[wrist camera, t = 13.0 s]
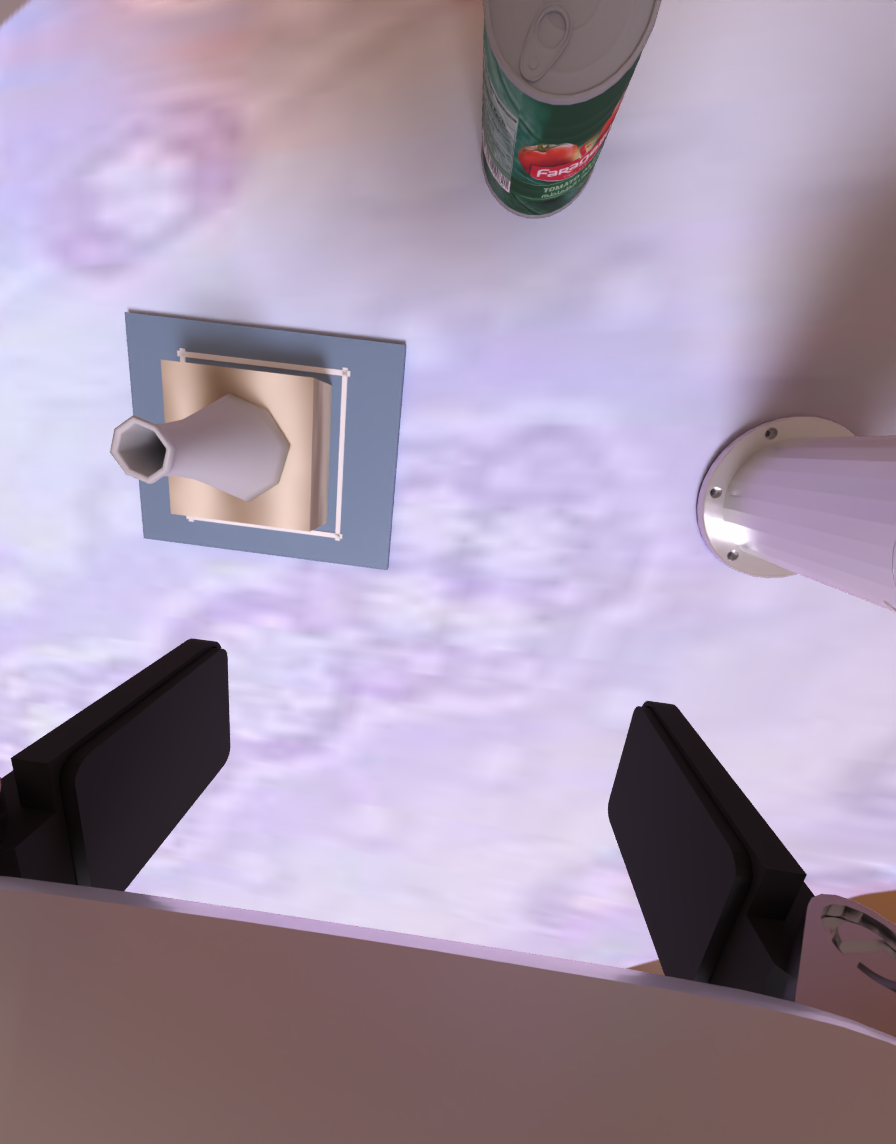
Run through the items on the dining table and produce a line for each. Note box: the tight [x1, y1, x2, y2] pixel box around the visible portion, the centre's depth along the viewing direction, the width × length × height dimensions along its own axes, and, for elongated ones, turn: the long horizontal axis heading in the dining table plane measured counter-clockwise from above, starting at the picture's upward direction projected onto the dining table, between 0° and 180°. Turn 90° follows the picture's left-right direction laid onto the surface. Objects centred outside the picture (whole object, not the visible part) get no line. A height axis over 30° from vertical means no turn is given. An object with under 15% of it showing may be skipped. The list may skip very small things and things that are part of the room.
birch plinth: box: [161, 360, 332, 532], centre depth 34 cm, size 11×11×4 cm
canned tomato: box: [481, 0, 661, 218], centre depth 24 cm, size 8×8×11 cm
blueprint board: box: [125, 312, 406, 570], centre depth 36 cm, size 22×18×1 cm
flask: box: [110, 393, 290, 502], centre depth 27 cm, size 7×7×10 cm
